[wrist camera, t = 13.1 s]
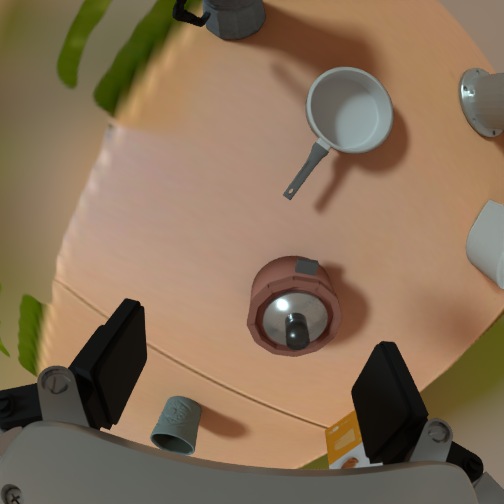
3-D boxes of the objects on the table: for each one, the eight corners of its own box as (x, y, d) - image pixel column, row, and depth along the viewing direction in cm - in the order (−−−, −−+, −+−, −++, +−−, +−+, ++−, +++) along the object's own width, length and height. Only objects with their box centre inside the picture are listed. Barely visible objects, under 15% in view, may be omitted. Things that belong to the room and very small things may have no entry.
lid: (334, 294, 38) (342, 317, 33) (315, 344, 41) (320, 369, 36) (270, 284, 38) (270, 307, 33) (258, 335, 41) (256, 361, 36)
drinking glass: (196, 421, 63) (187, 459, 51) (159, 407, 61) (146, 444, 50) (209, 403, 59) (200, 445, 48) (168, 387, 58) (154, 428, 47)
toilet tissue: (474, 276, 43) (502, 301, 34) (455, 232, 40) (488, 254, 31) (505, 242, 40) (535, 262, 31) (490, 196, 37) (524, 212, 28)
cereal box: (341, 435, 63) (354, 529, 35) (324, 430, 62) (335, 530, 34) (404, 388, 55) (441, 491, 27) (390, 381, 54) (427, 493, 26)
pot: (343, 253, 43) (357, 277, 35) (315, 336, 49) (320, 368, 42) (261, 237, 43) (259, 260, 35) (244, 325, 49) (239, 357, 42)
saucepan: (250, 167, 39) (248, 171, 34) (330, 60, 32) (339, 50, 27) (315, 213, 41) (322, 224, 36) (392, 110, 34) (408, 107, 29)
